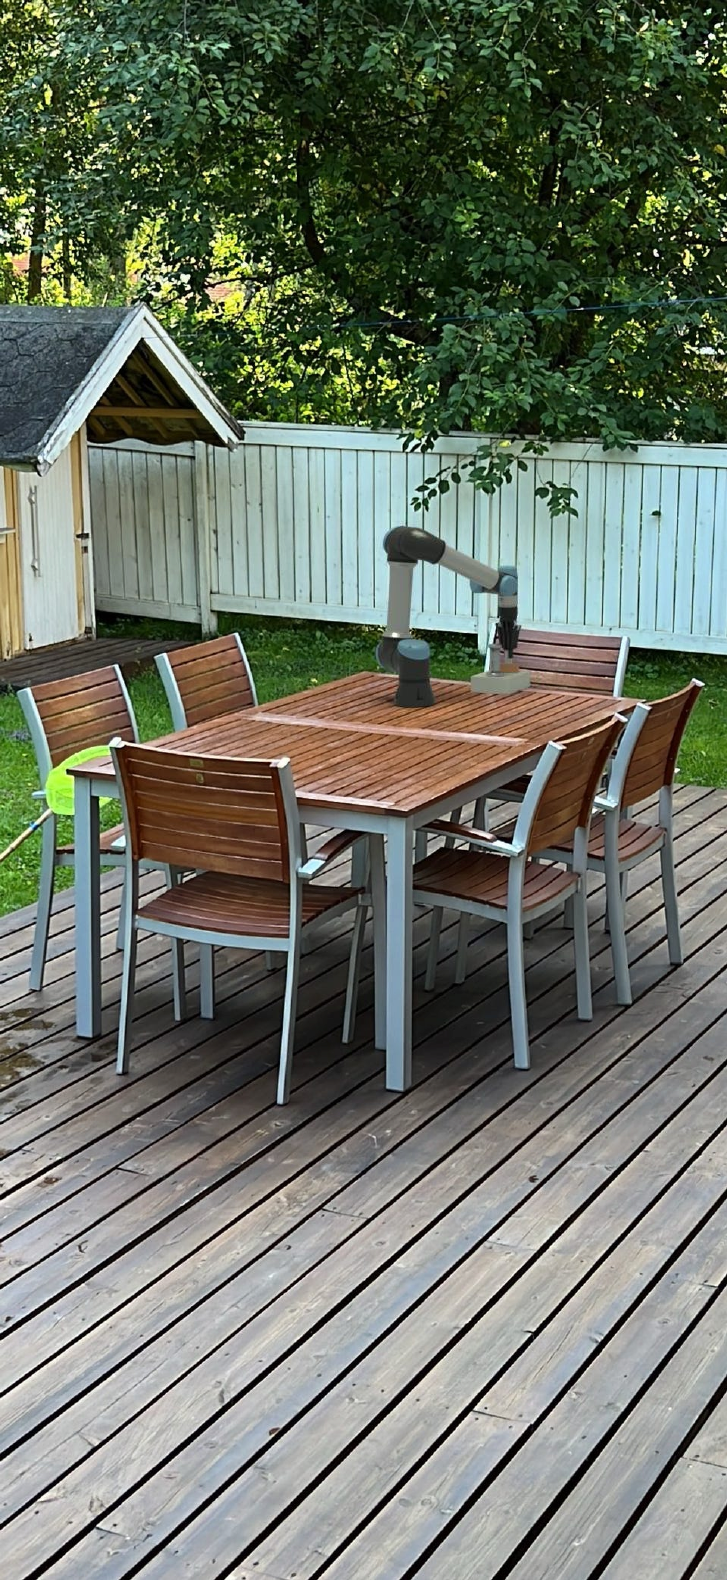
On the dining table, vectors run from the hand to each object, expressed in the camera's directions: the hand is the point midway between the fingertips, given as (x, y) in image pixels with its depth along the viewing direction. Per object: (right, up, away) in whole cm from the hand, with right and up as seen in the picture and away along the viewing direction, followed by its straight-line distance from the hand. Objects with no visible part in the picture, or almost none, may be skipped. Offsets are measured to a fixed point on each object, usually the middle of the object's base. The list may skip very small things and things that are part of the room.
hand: (508, 666), depth 698 cm
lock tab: (-2, -2, -2) cm, 3 cm away
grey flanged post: (-6, -7, -9) cm, 13 cm away
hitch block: (-3, -9, -4) cm, 10 cm away
